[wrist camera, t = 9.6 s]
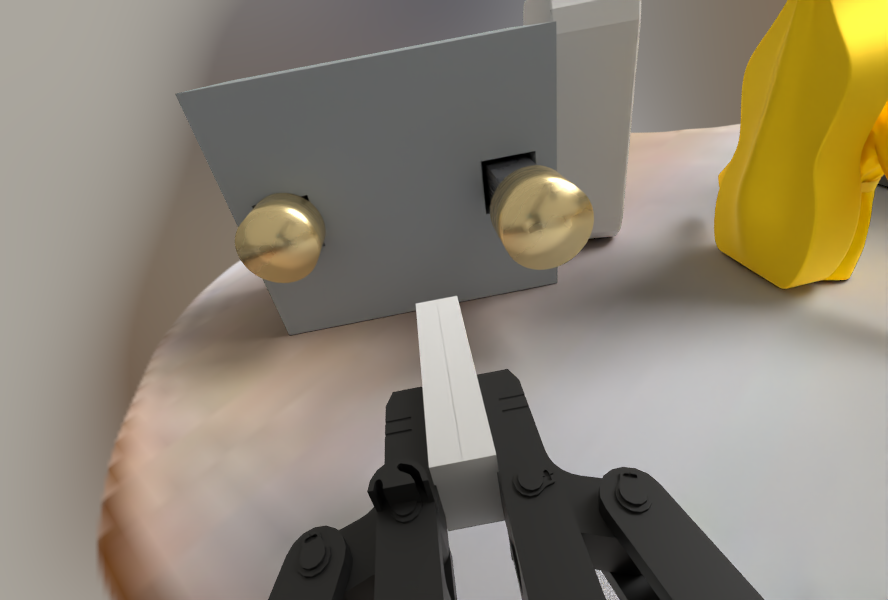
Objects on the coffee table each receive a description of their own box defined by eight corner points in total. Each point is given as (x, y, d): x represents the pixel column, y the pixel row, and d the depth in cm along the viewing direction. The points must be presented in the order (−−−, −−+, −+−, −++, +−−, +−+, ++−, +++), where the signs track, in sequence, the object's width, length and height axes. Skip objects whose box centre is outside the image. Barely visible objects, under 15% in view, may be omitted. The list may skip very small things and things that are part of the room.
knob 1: (343, 218, 31) (325, 161, 29) (328, 275, 24) (302, 203, 21) (287, 229, 31) (264, 172, 29) (255, 289, 24) (220, 219, 21)
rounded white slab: (651, 244, 32) (691, -48, 22) (552, 253, 34) (550, -19, 24) (585, 151, 56) (590, -11, 46) (528, 158, 57) (522, 2, 47)
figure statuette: (998, 333, 20) (1674, -551, 8) (843, 364, 20) (1285, -480, 8) (736, 209, 35) (830, -161, 23) (647, 226, 35) (694, -135, 23)
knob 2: (537, 201, 28) (534, 135, 25) (591, 260, 20) (596, 173, 18) (474, 213, 28) (466, 148, 25) (506, 277, 20) (499, 192, 18)
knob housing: (523, 234, 37) (512, 27, 28) (557, 282, 30) (556, 21, 21) (309, 275, 37) (232, 80, 28) (289, 335, 29) (175, 93, 21)
